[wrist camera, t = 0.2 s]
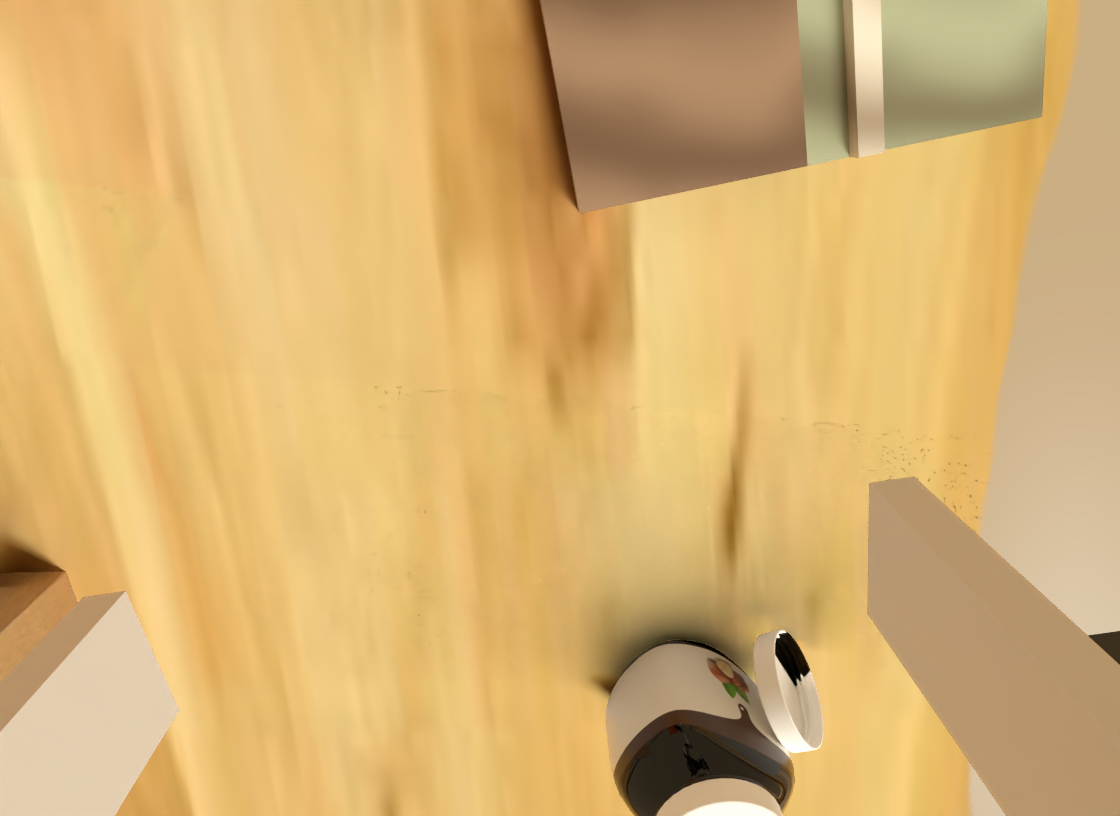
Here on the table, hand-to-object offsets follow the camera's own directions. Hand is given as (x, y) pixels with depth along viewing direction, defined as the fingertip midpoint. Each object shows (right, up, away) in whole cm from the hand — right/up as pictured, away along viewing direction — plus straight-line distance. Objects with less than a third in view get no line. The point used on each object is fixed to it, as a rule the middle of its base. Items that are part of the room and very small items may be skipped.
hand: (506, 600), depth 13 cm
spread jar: (+11, -14, +34) cm, 38 cm away
